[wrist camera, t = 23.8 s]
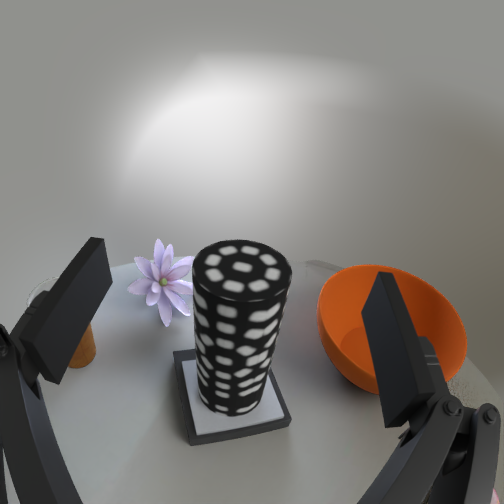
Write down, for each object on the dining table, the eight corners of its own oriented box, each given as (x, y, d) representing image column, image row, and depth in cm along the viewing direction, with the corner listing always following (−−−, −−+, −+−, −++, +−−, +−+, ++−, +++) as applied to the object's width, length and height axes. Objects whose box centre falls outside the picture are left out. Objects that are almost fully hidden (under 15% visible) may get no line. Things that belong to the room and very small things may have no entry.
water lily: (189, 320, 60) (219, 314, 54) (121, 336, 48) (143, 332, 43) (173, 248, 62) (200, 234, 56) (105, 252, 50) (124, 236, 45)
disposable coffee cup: (50, 336, 43) (25, 282, 36) (100, 324, 47) (82, 268, 40) (55, 382, 36) (22, 330, 29) (111, 369, 41) (89, 314, 34)
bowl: (446, 340, 51) (471, 303, 45) (416, 447, 33) (455, 416, 27) (340, 287, 62) (354, 246, 56) (272, 371, 44) (284, 328, 38)
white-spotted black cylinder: (188, 405, 35) (175, 285, 23) (210, 356, 42) (212, 232, 30) (254, 424, 34) (283, 313, 22) (268, 372, 40) (297, 251, 29)
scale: (174, 360, 44) (172, 348, 42) (257, 348, 48) (260, 335, 46) (190, 446, 33) (189, 437, 31) (288, 426, 37) (293, 417, 35)
